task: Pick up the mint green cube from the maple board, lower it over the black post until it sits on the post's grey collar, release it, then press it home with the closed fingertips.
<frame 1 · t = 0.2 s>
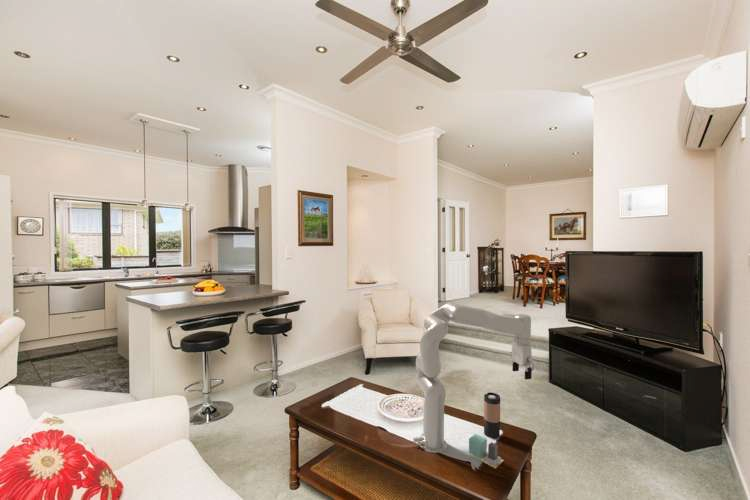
hand: (521, 374, 165), 31 cm above the table, fingers open, 9 cm apart
post: (492, 460, 147), resting on board
mint green cube: (477, 452, 152), point 1 cm above the table, touching board
travel mug: (491, 436, 167), on the table
board: (485, 458, 150), on the table
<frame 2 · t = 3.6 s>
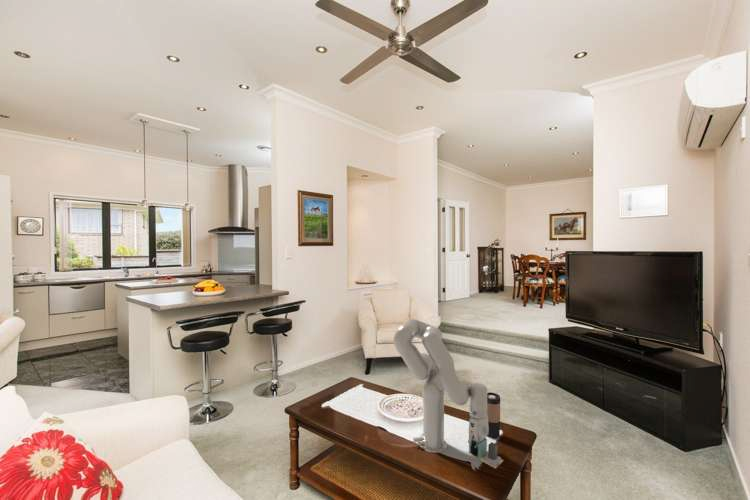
hand: (477, 451, 152), 2 cm above the table, fingers closed on mint green cube, 5 cm apart
mint green cube: (477, 452, 152), point 1 cm above the table, touching board, gripper
everything else where it was.
when the fingers open (4 cm above the table, at t = 8.0 s): mint green cube stays where it is, resting on post.
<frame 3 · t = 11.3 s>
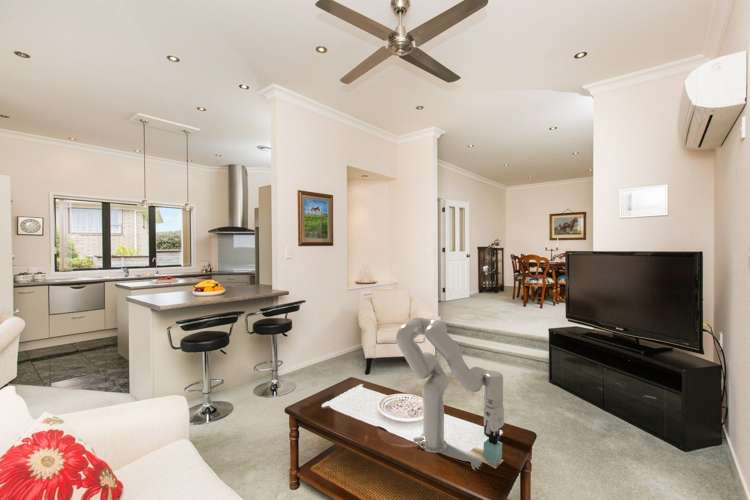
hand: (493, 442, 147), 9 cm above the table, fingers closed
mint green cube: (492, 457, 147), point 2 cm above the table, touching gripper, post
everything else where it was.
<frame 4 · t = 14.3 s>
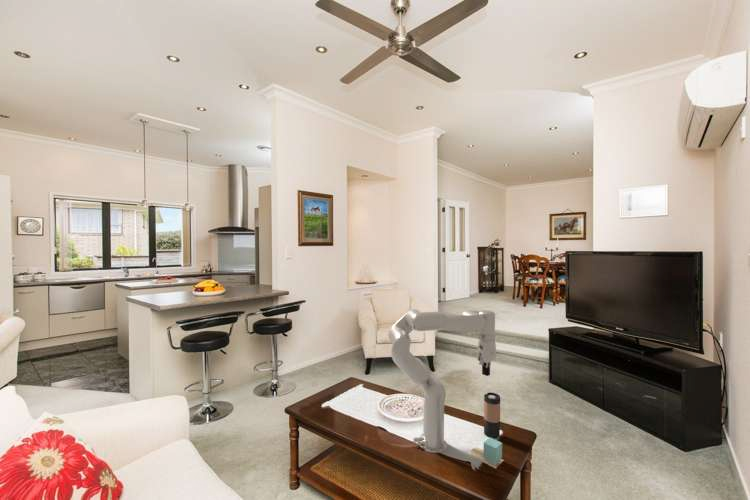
hand: (486, 374, 162), 32 cm above the table, fingers closed
mint green cube: (492, 457, 147), point 2 cm above the table, touching post
everything else where it was.
at the end: mint green cube 0.1 cm from the post (horizontally); mint green cube point 2.3 cm above the table; the gripper is holding nothing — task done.
